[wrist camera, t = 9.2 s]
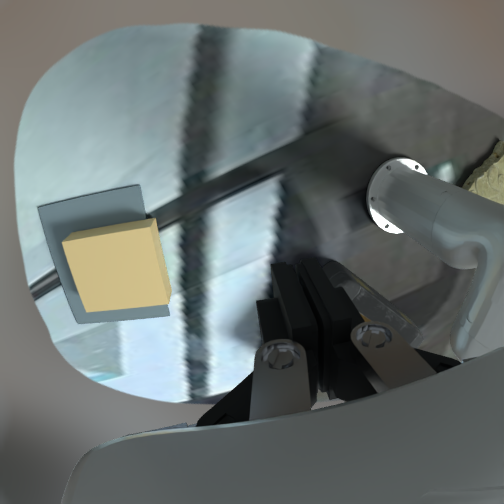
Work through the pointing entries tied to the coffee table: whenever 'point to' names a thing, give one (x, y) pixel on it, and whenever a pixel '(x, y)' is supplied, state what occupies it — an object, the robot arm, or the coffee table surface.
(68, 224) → the mat
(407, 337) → the cash box
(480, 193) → the decorative tile
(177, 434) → the robot arm
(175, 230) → the coffee table surface
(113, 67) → the coffee table surface
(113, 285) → the pale yellow block
